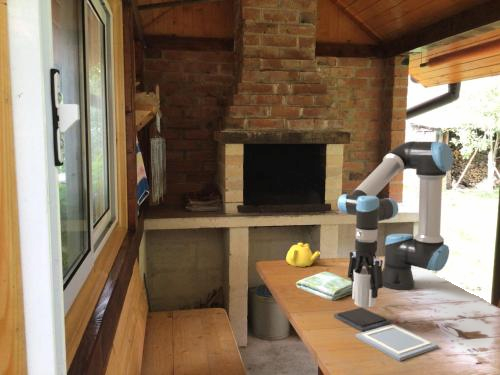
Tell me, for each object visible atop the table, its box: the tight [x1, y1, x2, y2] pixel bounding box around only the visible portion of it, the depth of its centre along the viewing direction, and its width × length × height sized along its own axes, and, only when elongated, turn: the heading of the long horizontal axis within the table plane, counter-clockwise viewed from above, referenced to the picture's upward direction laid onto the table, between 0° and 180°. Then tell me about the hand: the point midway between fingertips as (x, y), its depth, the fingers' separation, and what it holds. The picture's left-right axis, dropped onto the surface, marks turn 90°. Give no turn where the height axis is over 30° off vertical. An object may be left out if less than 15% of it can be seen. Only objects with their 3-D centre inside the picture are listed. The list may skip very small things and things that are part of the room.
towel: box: [295, 271, 353, 301], centre depth 192 cm, size 18×21×5 cm
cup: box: [353, 267, 371, 308], centre depth 160 cm, size 8×8×12 cm
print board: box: [354, 323, 439, 362], centre depth 144 cm, size 18×18×1 cm
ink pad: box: [333, 307, 392, 333], centre depth 161 cm, size 14×14×2 cm
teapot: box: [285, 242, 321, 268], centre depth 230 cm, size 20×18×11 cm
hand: (363, 302), depth 160 cm, fingers closed on cup, 7 cm apart
